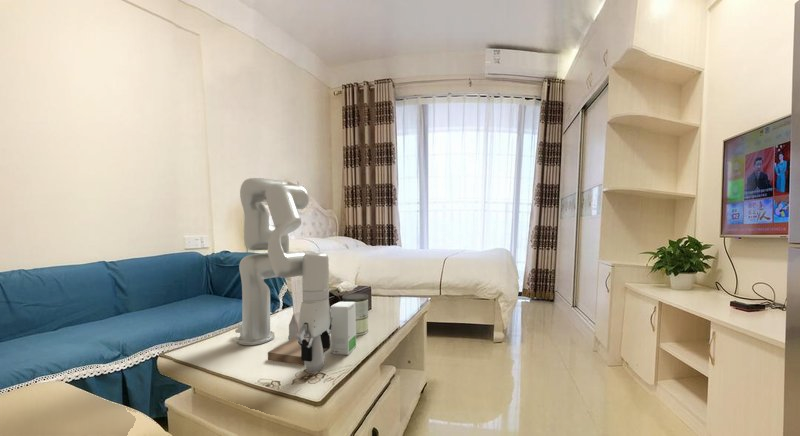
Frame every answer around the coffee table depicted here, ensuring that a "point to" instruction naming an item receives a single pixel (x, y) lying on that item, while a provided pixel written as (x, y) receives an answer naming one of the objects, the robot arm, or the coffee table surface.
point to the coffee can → (359, 311)
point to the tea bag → (294, 326)
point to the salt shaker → (316, 356)
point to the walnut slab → (288, 352)
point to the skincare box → (343, 328)
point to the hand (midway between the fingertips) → (316, 353)
